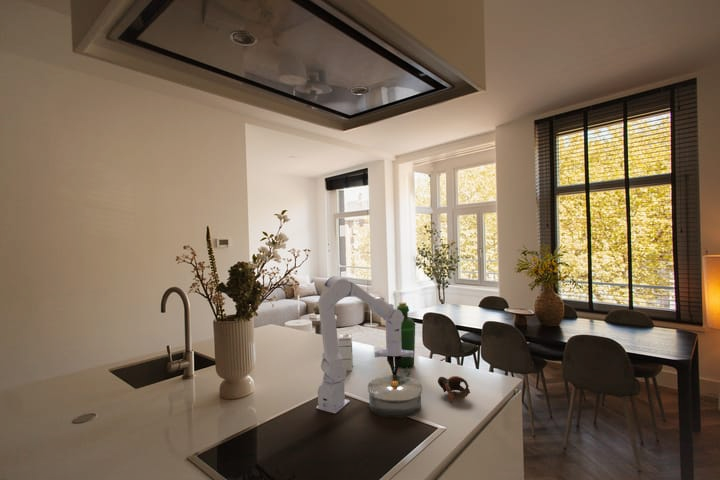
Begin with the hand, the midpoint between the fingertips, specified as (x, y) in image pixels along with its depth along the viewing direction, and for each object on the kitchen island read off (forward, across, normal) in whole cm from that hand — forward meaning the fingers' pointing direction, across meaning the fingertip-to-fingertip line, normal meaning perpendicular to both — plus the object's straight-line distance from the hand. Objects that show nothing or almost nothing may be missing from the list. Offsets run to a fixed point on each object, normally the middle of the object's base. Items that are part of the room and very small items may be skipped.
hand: (394, 375), depth 129 cm
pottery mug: (+6, -21, +5) cm, 22 cm away
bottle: (+6, -5, -25) cm, 26 cm away
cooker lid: (0, -1, +9) cm, 9 cm away
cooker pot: (+5, -1, +9) cm, 10 cm away
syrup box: (+6, +21, -21) cm, 31 cm away
